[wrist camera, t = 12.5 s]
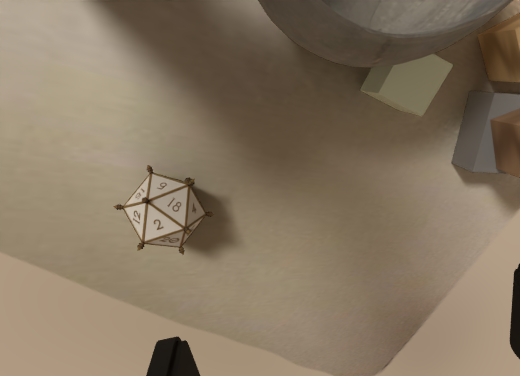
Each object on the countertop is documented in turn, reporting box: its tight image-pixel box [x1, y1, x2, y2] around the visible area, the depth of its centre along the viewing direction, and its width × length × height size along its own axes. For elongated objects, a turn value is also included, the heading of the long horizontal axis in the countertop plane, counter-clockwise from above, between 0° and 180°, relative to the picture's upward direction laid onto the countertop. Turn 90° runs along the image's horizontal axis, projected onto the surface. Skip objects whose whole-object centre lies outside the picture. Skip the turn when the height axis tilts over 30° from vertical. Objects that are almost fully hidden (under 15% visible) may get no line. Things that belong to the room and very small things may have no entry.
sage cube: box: [360, 54, 453, 116], centre depth 32 cm, size 5×5×5 cm
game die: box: [113, 165, 214, 255], centre depth 34 cm, size 9×8×10 cm
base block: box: [452, 91, 520, 173], centre depth 36 cm, size 8×8×4 cm
